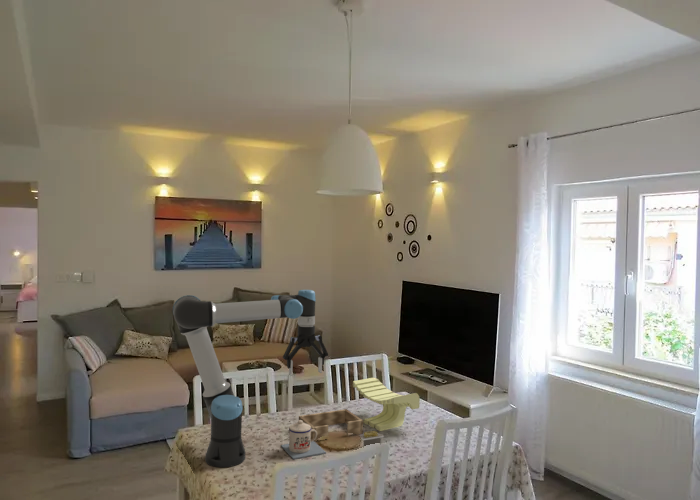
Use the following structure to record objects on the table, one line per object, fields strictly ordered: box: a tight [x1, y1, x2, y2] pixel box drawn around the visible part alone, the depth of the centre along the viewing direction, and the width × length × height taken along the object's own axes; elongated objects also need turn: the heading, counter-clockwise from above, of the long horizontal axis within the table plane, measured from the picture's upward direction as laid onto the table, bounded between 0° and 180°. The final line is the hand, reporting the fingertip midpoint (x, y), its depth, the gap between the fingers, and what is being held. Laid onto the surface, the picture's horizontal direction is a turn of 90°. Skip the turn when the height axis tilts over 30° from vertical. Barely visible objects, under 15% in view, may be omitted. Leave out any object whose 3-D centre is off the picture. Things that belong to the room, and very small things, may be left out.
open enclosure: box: [298, 408, 364, 443], centre depth 231 cm, size 24×16×6 cm
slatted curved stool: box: [352, 377, 421, 432], centre depth 243 cm, size 30×16×18 cm, turn 37°
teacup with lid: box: [288, 419, 317, 453], centre depth 210 cm, size 12×9×12 cm
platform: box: [360, 430, 384, 447], centre depth 215 cm, size 12×18×7 cm, turn 115°
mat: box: [280, 441, 327, 461], centre depth 210 cm, size 14×14×1 cm
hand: (305, 373), depth 223 cm, fingers open, 13 cm apart
